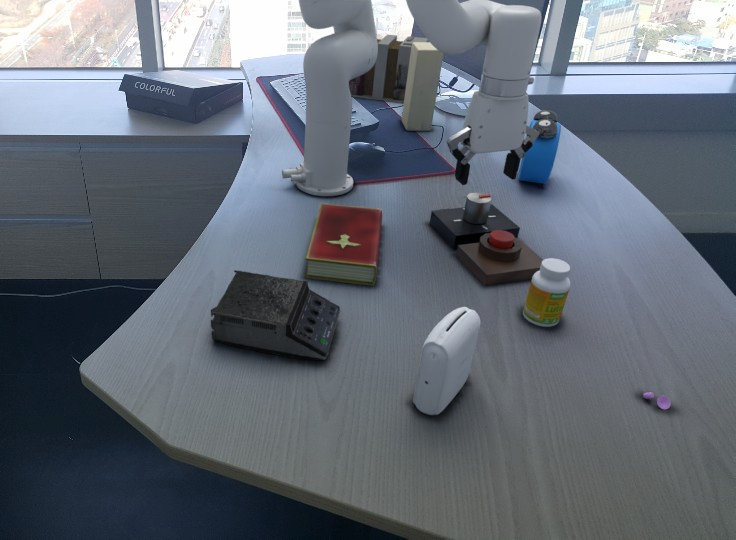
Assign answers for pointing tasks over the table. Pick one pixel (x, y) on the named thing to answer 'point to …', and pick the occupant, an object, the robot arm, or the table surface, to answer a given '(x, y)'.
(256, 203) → the table surface
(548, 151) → the alarm clock
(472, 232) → the control panel
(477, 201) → the timer knob
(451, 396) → the photo printer
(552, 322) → the supplement bottle
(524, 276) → the button block
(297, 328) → the electronic device
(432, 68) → the toy refrigerator
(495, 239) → the button
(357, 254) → the hardcover book
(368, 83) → the bookend
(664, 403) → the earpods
